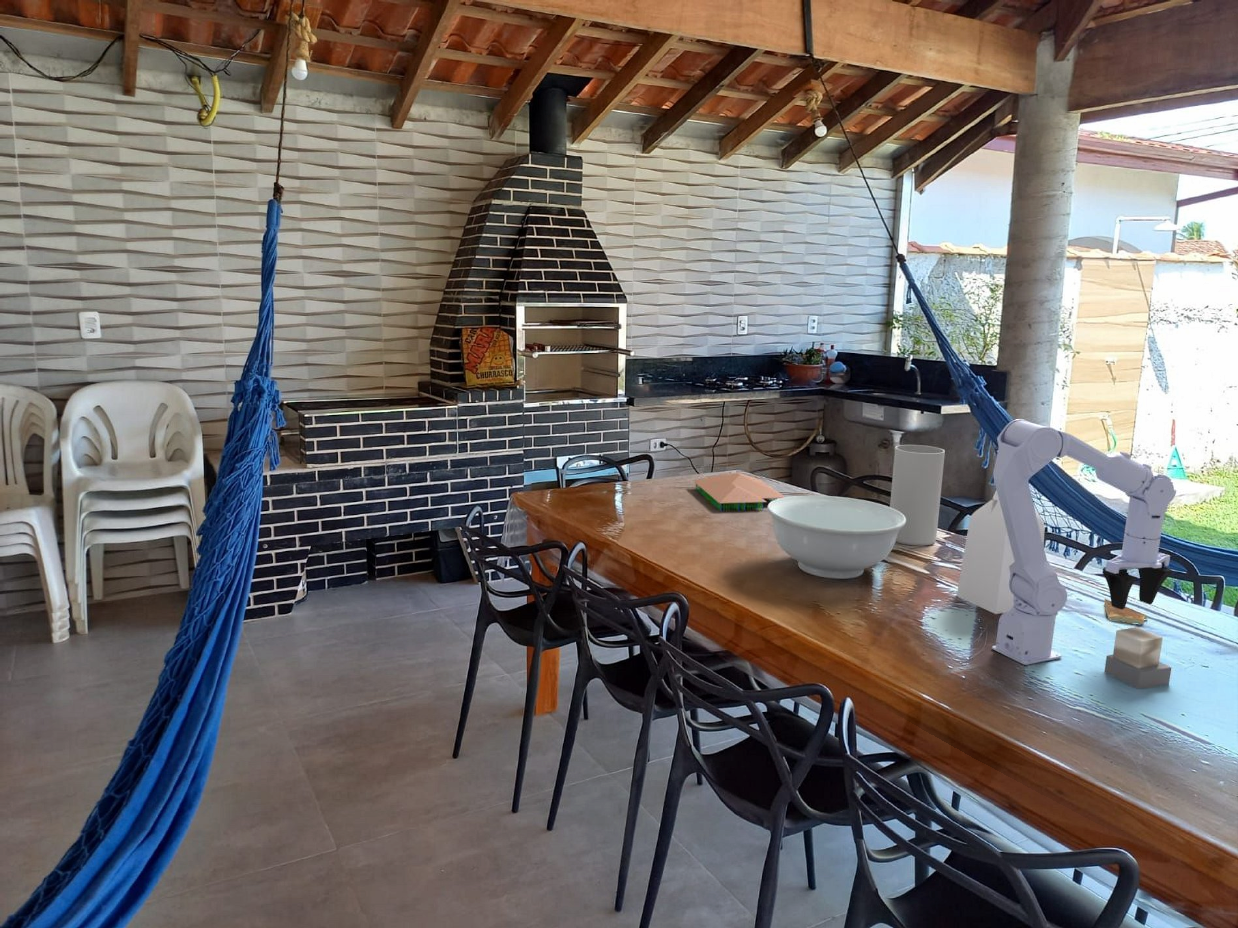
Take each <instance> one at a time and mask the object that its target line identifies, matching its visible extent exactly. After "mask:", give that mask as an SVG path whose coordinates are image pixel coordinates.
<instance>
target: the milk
mask: <svg viewBox="0 0 1238 928" xmlns="http://www.w3.org/2000/svg"><path fill="white" fill-rule="evenodd" d="M995 489H996V488H995ZM1035 513H1036V517H1037V521H1038V525H1039V529H1040V533H1041V538H1042V542H1043V546H1044V544H1045V543H1044V542H1045V530H1046V529H1045V527H1046V526H1045V522H1044V521H1043V518H1042V517H1041V515H1040V514H1039V513H1038V511H1037V510H1036V509H1035ZM967 528H968V529H967V532H966V533H967V535H966V538H965V539H966V540H965V543H964V544H965V545H964V550H963V551H964V552H963V557H962V562H961V568H960V574H959V578H958V585H957V591H956V596H957V597H959V598H960V599H963V600H965V601H967V602H969V603H971V604H974V605H976V606H977V607H979V608H982V609H984V610H986V611H988V612H991V613H993V615H994V614H995V615H998V614H1004V613H1005V612H1008V611H1010V610H1011V609H1012V607H1013V605H1014V601H1013V600H1014V595H1013V594H1012V593H1011V591H1010V589H1009V579H1010V568H1009V566H1010V565H1011V564H1012V563H1013V562H1014V557H1013V553H1012V549H1011V545H1010V541H1009V537H1008V533H1007V529H1006V525H1005V521H1004V517H1003V513H1002V509H1001V505H1000V501H999V497H998V493H997V489H996V490H995V491H994V494H993V497H992V499H990V500H989V501H988V502H986V503H985V504H984V505H981V506H980V507H979V508H978V509H976V510H975V511H973V513H972V514H971V516H970V517H969V523H968V527H967Z"/></svg>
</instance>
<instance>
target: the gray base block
mask: <svg viewBox="0 0 1238 928" xmlns="http://www.w3.org/2000/svg"><path fill="white" fill-rule="evenodd" d="M1105 657H1106V659H1105V663H1104V665H1105V666H1104V673H1105V674H1108V675H1110V676H1111V677H1113V678H1115V679H1116V680H1119V681H1120V682H1123V683H1125V684H1127V685H1128V686H1131V687H1132V688H1134V689H1136V690H1142V689H1147V688H1148V689H1149V688H1154V687H1160V686H1169V685H1170V679H1171V674H1172V666H1170V665H1167V664H1166V663H1163V662H1161V661H1159V664H1158V665H1153V666H1148V667H1143V668H1139V669H1138V668H1136V667H1134V666H1132V665H1129V664H1127V663H1125V662H1123V661H1120V660H1118V659H1116V658H1114V657H1113V654H1109V655H1106V656H1105Z"/></svg>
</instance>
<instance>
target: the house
mask: <svg viewBox="0 0 1238 928" xmlns="http://www.w3.org/2000/svg"><path fill="white" fill-rule="evenodd" d="M692 481H693V483H695V490H696V491H697V492H699V494H701V495H702V496H703V497H704V498H705V499H706V501H708V502H710V503H711V504H712V505H714V507H715V508H718V510H719V511H720V512H722V508H726V512H727V511H728V507H730V505H731V504H732V507H733V509H737V511H738V512H740V508H741V510H743V511H746V507H747V508H751V507H752V508H754V507H755V508H754V509H757V508H758V509H759V510H760V511H763V510H764V503H767V499H771V501H770V502H772V501H774V500H776V499H780V498H784V497H786V496H785V495H783V493H781V492H779V491H777V490H776V489H774V488H773V487H771V486H770V485H768V483H766V482H764V481H763V480H761V479H759V478H756V477H754V476H750V475H746V474H743V473H739V472H734V473H721V474H720V473H719V474H714V475H710V476H709V475H708V476H706V477H705V478H699V479H694V480H692ZM765 499H766V500H765ZM722 504H723V505H722ZM725 504H727V506H725ZM747 504H748V505H747ZM738 507H740V508H738ZM747 511H749V509H747ZM731 512H733V511H732V509H731Z"/></svg>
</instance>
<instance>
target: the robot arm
mask: <svg viewBox="0 0 1238 928" xmlns="http://www.w3.org/2000/svg"><path fill="white" fill-rule="evenodd" d="M996 440H997V445H998V449H997V454H996V459H995V463H994V468H993V476H992V477H993V481H994V485H995V489H997V493H998V497H999V501H1000V505H1001V509H1002V513H1003V517H1004V521H1005V525H1006V529H1007V533H1008V537H1009V541H1010V545H1011V549H1012V553H1013V557H1014V562H1013V563H1012V564H1011V565H1010V566H1009V568H1010V579H1009V589H1010V591H1011V593H1012V594H1013V595H1014V600H1013V601H1014V605H1013V607H1012V609H1011V610H1010V611H1008V612H1005V613H1001V615H1000V616H999V620H998V623H997V624H998V625H997V633H996V634H997V635H996V640H995V645H992V646H991V649H992V650H994V651H995V652H997V653H1000V654H1002V655H1004V656H1006V657H1007V658H1009V659H1012V660H1013V661H1016V662H1018V663H1020V664H1022V665H1025V666H1027V665H1031V664H1037V663H1042V662H1046V661H1053V660H1056V659H1061V658H1062V657H1063V655H1062V654H1061V653H1058V652H1056V651H1054V650H1053V641H1054V634H1055V632H1054V631H1055V627H1056V626H1055V625H1056V618H1057V617H1056V616H1058V612H1060V611H1061V610H1062V609H1063V608H1064V607H1065V605H1066V603H1067V601H1068V593H1067V590H1066V588H1065V586H1064V585H1063V584H1062V583H1061V582H1060V580H1059V577H1058V574H1057V572H1056V571H1055V569H1054V568H1053V566H1052V565H1051V564H1050V562H1049V560H1048V559H1047V555H1046V551H1045V546H1044V545H1043V542H1042V538H1041V533H1040V529H1039V525H1038V521H1037V517H1036V513H1035V510H1036V508H1035V504H1034V500H1033V497H1032V493H1031V488H1030V485H1029V480H1030V479H1031V478H1032V476H1034V475H1035V474H1036V473H1038V472H1039V471H1040V470H1042V469H1043V468H1044V467H1045V466H1046V465H1048V464H1049V463H1050V462H1052V461H1053V460H1054V459H1056V458H1059V459H1060V458H1062V459H1063V458H1064V457H1065V456H1066V457H1069V458H1070V459H1073V460H1075V461H1076V462H1079V463H1081V464H1083V465H1085V466H1087V467H1090V468H1092V469H1093V470H1094V471H1095V477H1096V478H1097V479H1099V481H1102V482H1103V483H1105V484H1107V485H1110V486H1111V487H1113V488H1115V489H1117V490H1119V491H1121V492H1123V493H1125V495H1126V496H1127V497H1128V498H1129V499H1128V500H1129V501H1128V508H1127V515H1126V522H1125V528H1124V535H1123V541H1122V548H1121V554H1119V555H1117V556H1116V557H1114V558H1112V559H1110V560H1108V559H1107V560H1106V565H1105V566H1104V567H1103V568H1102V574H1103V577H1104V578H1105V581H1106V584H1107V586H1108V590H1109V595H1110V596H1109V597H1110V601H1111V604H1112V606H1113V607H1116V608H1118V609H1121V610H1122V609H1124V608H1125V607H1127V602H1128V597H1129V594H1130V592H1131V589H1132V586H1134V585H1133V584H1134V583H1135V581H1136V580H1137V579H1138V578H1137V576H1135V575H1131V574H1129V573H1130V572H1128V571H1130V570H1131V571H1132V570H1138V575H1139V591H1138V594H1139V595H1138V596H1139V602H1143V603H1144V604H1147V605H1152V604H1153V603H1154V600H1155V598H1156V597H1157V594H1158V592H1159V591H1160V589H1161V586H1162V585H1163V584H1164V583H1165V581H1166V580H1167V579H1168V577H1170V576H1171V574H1172V569H1171V568H1169V567H1168V566H1169V564H1170V559H1171V555H1169V554H1165V553H1162V552H1159V548H1160V545H1161V544H1160V542H1161V537H1162V530H1163V523H1164V517H1165V515H1166V513H1167V511H1168V506H1169V504H1171V502H1172V501H1173V500H1174V498H1175V496H1176V494H1177V489H1175V487H1174V483H1173V482H1172V479H1171V478H1170V477H1168V476H1167V475H1165V474H1162V473H1158V472H1157V471H1156V472H1155V471H1152V466H1150V465H1148V464H1146V463H1143V464H1141V463H1139V462H1137V461H1135V460H1133V459H1132V458H1131V457H1132V455H1131V454H1129V453H1128V452H1124V451H1120V452H1117V451H1111V452H1108V453H1104V452H1102V451H1101V450H1099V449H1097V448H1096V447H1094V446H1092V445H1090V444H1088V443H1086V442H1085V441H1083V440H1081V439H1080V438H1078V437H1077V436H1074V435H1073V434H1071V433H1068V432H1064V431H1061V430H1057V429H1055V428H1053V427H1051V426H1043V425H1041V424H1038V423H1034V422H1031V421H1029V420H1026V419H1022V418H1018V419H1014V420H1011V421H1010V422H1008V423H1007V424H1006V425H1005V427H1004V428H1003V429H1002V431H1001V432H1000V433H999V434H998V436H997V437H996Z"/></svg>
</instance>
